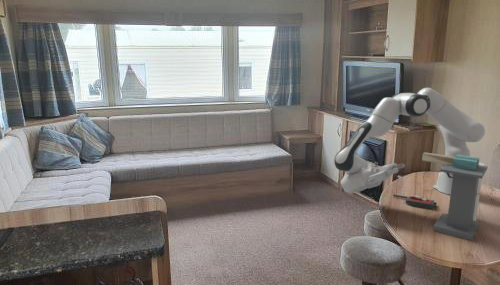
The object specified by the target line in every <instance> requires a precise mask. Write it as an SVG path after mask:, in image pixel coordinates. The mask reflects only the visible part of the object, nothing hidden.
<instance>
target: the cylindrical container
mask: <svg viewBox="0 0 500 285" xmlns="http://www.w3.org/2000/svg"><path fill="white" fill-rule="evenodd" d="M479 165H481V166H485V164H484V163H483V162H480V161H479ZM482 182H483V178H482V179H481V178H479V181H478V188H477V194H476V201H475V208H474V215H473V221H477V215H478V208H479V202H480V196H481V188H482V184H483V183H482Z"/></svg>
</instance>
